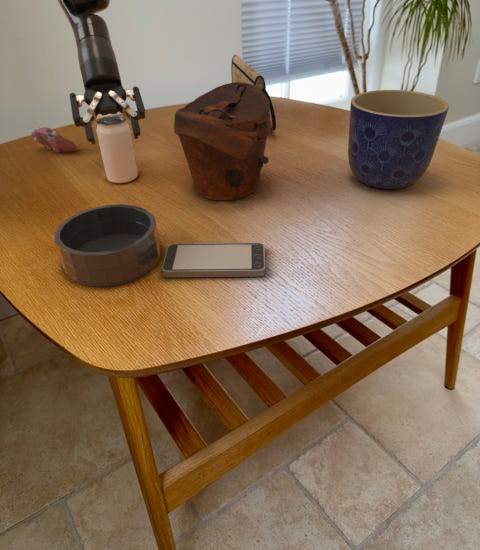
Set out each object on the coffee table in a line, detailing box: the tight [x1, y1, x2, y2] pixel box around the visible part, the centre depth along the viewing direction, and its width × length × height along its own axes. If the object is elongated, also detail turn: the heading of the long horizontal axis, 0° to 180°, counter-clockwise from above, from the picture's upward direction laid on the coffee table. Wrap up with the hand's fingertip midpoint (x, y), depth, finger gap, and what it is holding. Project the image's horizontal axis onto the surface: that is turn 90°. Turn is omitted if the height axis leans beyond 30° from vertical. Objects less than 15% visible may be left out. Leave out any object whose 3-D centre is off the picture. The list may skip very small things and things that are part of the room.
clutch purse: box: [230, 54, 277, 131], centre depth 114 cm, size 30×7×15 cm, turn 13°
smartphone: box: [161, 242, 266, 278], centre depth 65 cm, size 7×1×15 cm
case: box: [173, 82, 272, 201], centre depth 81 cm, size 18×20×18 cm
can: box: [95, 115, 139, 185], centre depth 88 cm, size 6×6×12 cm
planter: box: [347, 89, 450, 190], centre depth 83 cm, size 17×17×15 cm
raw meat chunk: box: [30, 126, 77, 153], centre depth 104 cm, size 10×5×7 cm, turn 55°
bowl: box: [53, 203, 162, 288], centre depth 66 cm, size 15×15×6 cm
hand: (115, 139), depth 88 cm, fingers open, 8 cm apart
